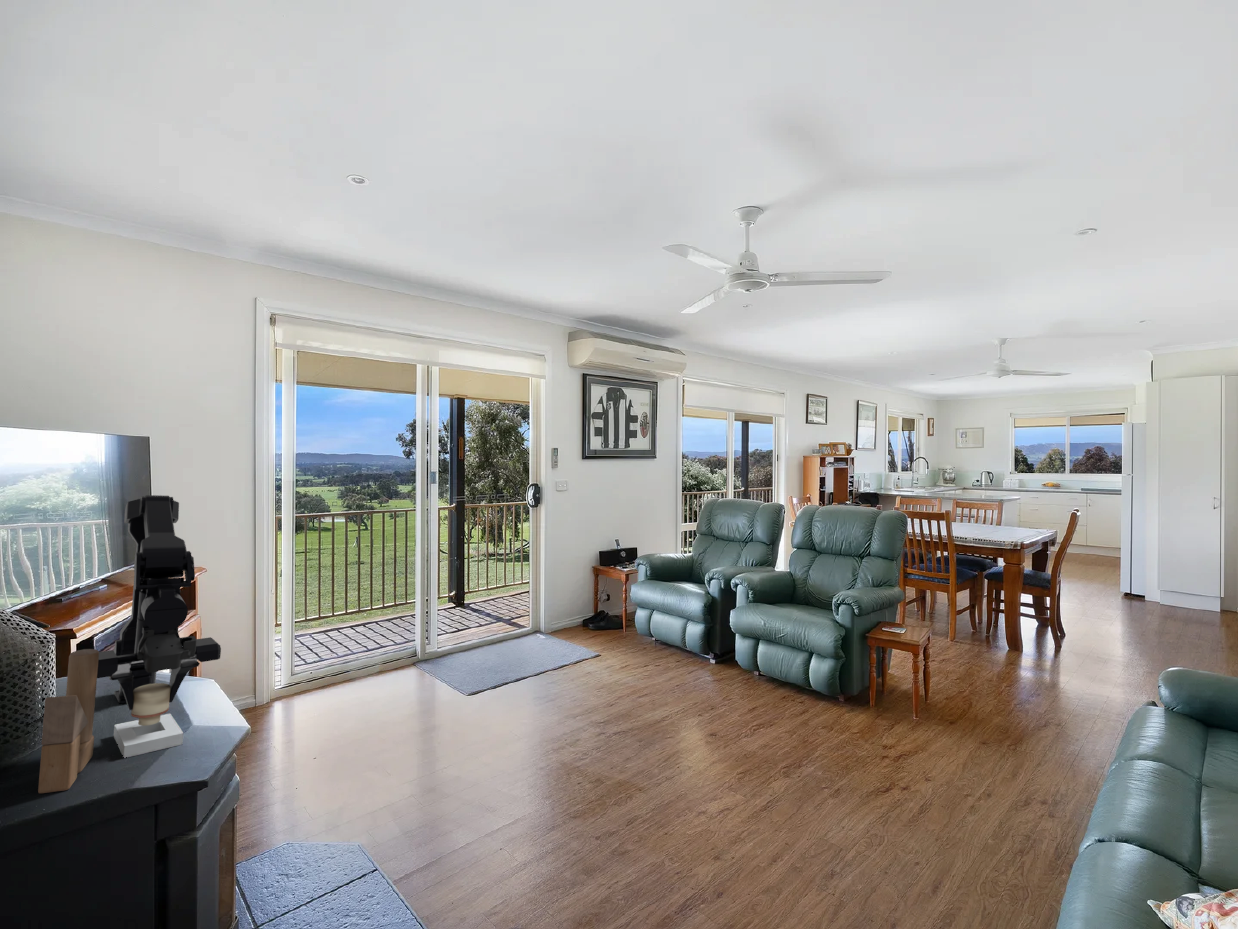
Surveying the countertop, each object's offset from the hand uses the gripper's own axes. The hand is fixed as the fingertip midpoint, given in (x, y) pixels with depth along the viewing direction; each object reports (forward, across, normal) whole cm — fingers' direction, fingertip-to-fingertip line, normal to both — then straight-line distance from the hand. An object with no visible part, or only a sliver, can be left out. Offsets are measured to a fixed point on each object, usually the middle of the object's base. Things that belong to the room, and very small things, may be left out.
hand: (150, 705), depth 105 cm
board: (+6, 0, 0) cm, 6 cm away
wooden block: (+6, -11, -6) cm, 14 cm away
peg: (+3, 0, 0) cm, 3 cm away
